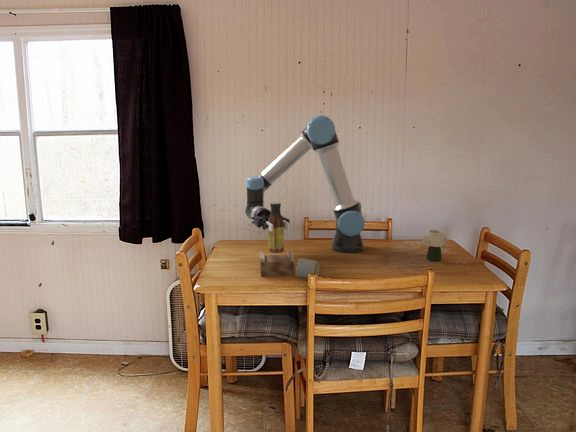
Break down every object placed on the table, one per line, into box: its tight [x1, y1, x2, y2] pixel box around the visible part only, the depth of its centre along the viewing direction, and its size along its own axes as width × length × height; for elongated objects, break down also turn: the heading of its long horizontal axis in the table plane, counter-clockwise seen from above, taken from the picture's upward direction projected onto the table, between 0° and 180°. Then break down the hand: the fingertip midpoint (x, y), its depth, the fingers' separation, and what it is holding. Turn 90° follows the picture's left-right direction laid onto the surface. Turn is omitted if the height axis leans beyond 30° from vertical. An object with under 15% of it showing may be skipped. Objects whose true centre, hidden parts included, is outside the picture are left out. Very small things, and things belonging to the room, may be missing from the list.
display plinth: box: [259, 250, 295, 278], centre depth 196 cm, size 13×10×8 cm
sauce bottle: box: [267, 201, 285, 254], centre depth 193 cm, size 6×6×20 cm
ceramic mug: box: [295, 257, 321, 279], centre depth 192 cm, size 11×8×8 cm
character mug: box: [422, 229, 448, 261], centre depth 214 cm, size 11×7×13 cm, turn 98°
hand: (280, 227), depth 189 cm, fingers closed on sauce bottle, 6 cm apart
